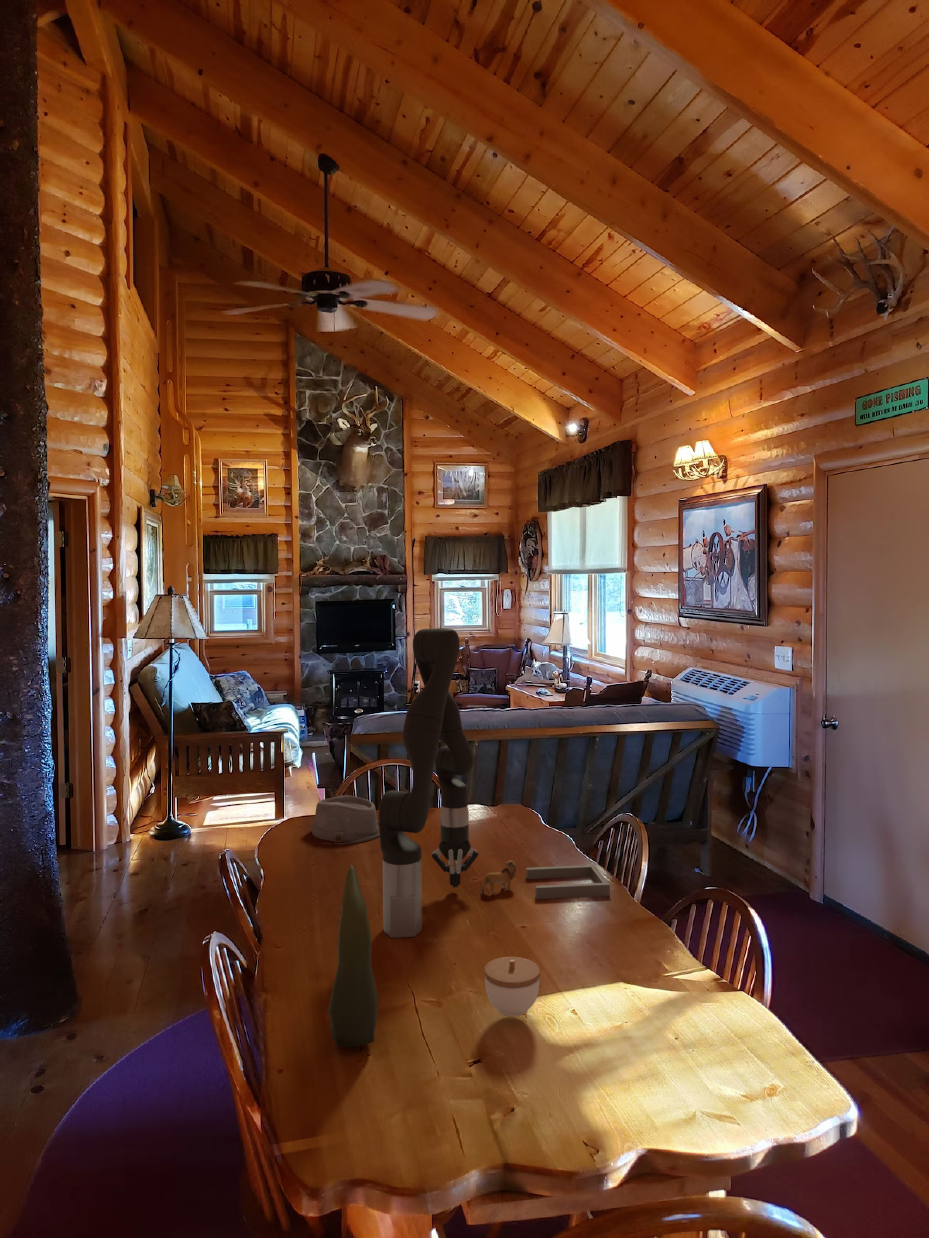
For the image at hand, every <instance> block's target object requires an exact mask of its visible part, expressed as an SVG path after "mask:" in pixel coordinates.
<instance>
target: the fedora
mask: <svg viewBox="0 0 929 1238" xmlns="http://www.w3.org/2000/svg"><path fill="white" fill-rule="evenodd" d="M311 833H312V834H311V835H312V836H313V837H315V838H318V839H321V840H325V841H332V842H339V845H350V844H359V843H363V842H368V841H371V840H374V839H376V838H380V830H379V821H378V817H377V810H376V806H375V804H374V803H373V802H372V801H371V800H369V799H366V798H364V797H360V796H354V795H338V796H334V797H329V798H324V799H321V800H320V801H318V802H317V804H316V807H315V814H314V821H313V825H312V832H311ZM323 844H328V845H330V843H328V842H327V843H325V842H323Z"/></svg>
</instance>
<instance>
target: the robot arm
mask: <svg viewBox="0 0 929 1238" xmlns="http://www.w3.org/2000/svg"><path fill="white" fill-rule="evenodd" d="M459 637H460V636H459V634H458V632H457V630H455V629H453V628H450V627H449V628H447V627H444V628H422V629H419V630H417V632H416V633H415V635H414V636H413V640H412V651H413V656H414V660H415V662H416V665H417V668H418V672H419V675H420V677H421V680H422V683H423V688H421V690H420V691H419V693H418V694H417V695H416V696H415V698H414V699H413V701H411V703H410V705H409V706H408V709H407V711H406V714H405V720H404V724H403V729H402V741H403V744H404V745H403V746H404V748H405V751H406V754H407V756H408V759H409V762H410V764H411V768H412V784H411V791H410V792H409V791H403V790H402V791H401V790H393V789H391V790H387V791H386V792H385V793H384V794H383V795H382V797H381V799H380V801H379V806H378V822H379V825H378V828H379V834H380V836H379V846H380V851H381V853H382V916H383V917H382V918H383V919H382V921H383V925H382V926H383V927H382V928H383V929H382V930H383V932H384V933H385V934H386V935H387V936H389V938H391V939H392V938H393V939H394V938H411V937H412V938H413V937H417V935H418V934H419V933H420V932H421V931H422V930H423V913H422V911H423V909H422V904H423V903H422V901H423V900H422V898H423V897H422V848H421V846H420V844H418V843H417V842H415V841H414V840H413V839H411V838H410V837H409V836H407V835H406V833H410V834H411V833H412V834H418V833H420V832H422V830H423V829H424V827H425V826H426V823H427V819H428V816H429V812H430V811H429V809H430V804H431V803H430V802H431V792H432V782H433V773H434V768H435V771H436V776H437V780H438V784H439V787H440V790H441V791H440V796H441V797H440V798H441V801H440V802H441V803H440V805H441V807H440V815H439V816H440V818H439V821H440V841H439V844H438V848H436V849H435V850H432V851H431V857H432V859H433V860H434V862H436V864H437V865H438V867H440V869H441V870H442V871H443V873H444V872H445V873H449V877H448V878H449V881H448V883H449V885H450V886H452V888H459V886H460V885H461V873H462V872H467V871H468V869H469V868H470V867H471V866H472V864H473V863H474V862H475V861H476V859H477V857H478V856H479V852H478V850H477V849H474V847H472V846H471V843H470V836H469V835H470V828H469V827H470V821H469V820H470V818H469V817H470V814H469V805H468V803H469V802H468V801H469V799H468V794H469V793H468V790H469V789H468V786H467V784H465V783H464V782H463V781H461V780H460V779H459V777H458V776H467V775H468V774H470V773H471V771H472V769H473V767H474V754H473V753H474V752H473V750H472V747H471V745H470V742H469V741H468V739H467V736H466V735H465V732H464V730H463V725H462V718H461V713H460V709H459V705H458V704H457V702H456V700H455V698H454V696H453V695H452V693H451V692H450V686H451V683H452V679H453V675H454V673H455V668H456V665H457V662H458V658H459V653H460V643H461V642H460V638H459ZM439 742H442V743H444V744H445V745H443V746H441V747H439V746H438V745H439ZM438 747H439V749H438ZM467 854H468V856H467ZM442 855H443V856H444V858H445V859H446V860H447V861H448V865H447V863H445V861H443V859H442ZM466 856H467V858H466V859H465V857H466ZM463 859H465V860H464V862H463ZM454 861H455V863H454ZM462 862H463V863H462Z"/></svg>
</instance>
